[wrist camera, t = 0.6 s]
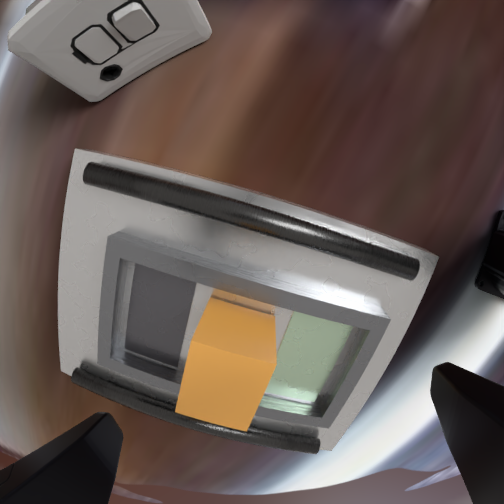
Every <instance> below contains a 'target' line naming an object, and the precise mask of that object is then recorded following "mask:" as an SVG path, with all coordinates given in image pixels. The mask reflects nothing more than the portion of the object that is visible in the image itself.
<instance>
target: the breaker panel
mask: <svg viewBox="0 0 504 504" xmlns="http://www.w3.org/2000/svg"><path fill="white" fill-rule="evenodd" d="M438 259H439V257H438V256H437V255H435V254H433V253H431V252H430V251H428V250H426V249H424V248H421V247H419V246H416V245H414V244H411V243H408V242H406V241H403V240H400V239H398V238H395V237H392V236H390V235H387V234H384V233H382V232H379V231H376V230H373V229H371V228H368V227H365V226H362V225H359V224H356V223H354V222H351V221H348V220H345V219H342V218H339V217H336V216H333V215H330V214H327V213H324V212H321V211H318V210H315V209H312V208H309V207H306V206H303V205H300V204H296V203H293V202H290V201H287V200H284V199H280V198H277V197H274V196H271V195H267V194H264V193H261V192H257V191H254V190H250V189H247V188H244V187H240V186H237V185H233V184H230V183H226V182H222V181H219V180H215V179H212V178H208V177H204V176H200V175H197V174H193V173H189V172H185V171H181V170H177V169H173V168H169V167H165V166H161V165H157V164H153V163H149V162H145V161H141V160H136V159H132V158H128V157H123V156H119V155H114V154H110V153H105V152H100V151H96V150H90V149H75V152H74V156H73V161H72V166H71V171H70V176H69V182H68V188H67V194H66V201H65V208H64V215H63V224H62V233H61V244H60V257H59V275H58V334H59V352H60V365H61V371H62V372H64V373H66V374H68V375H70V376H72V377H71V381H72V382H73V383H75V384H77V385H79V386H81V387H83V388H85V389H87V390H89V391H91V392H94V393H96V394H98V395H100V396H102V397H105V398H107V399H109V400H112V401H114V402H116V403H119V404H121V405H124V406H126V407H129V408H131V409H134V410H136V411H139V412H142V413H144V414H147V415H150V416H153V417H155V418H158V419H161V420H164V421H167V422H170V423H173V424H176V425H180V426H183V427H186V428H189V429H193V430H196V431H200V432H203V433H207V434H211V435H215V436H219V437H223V438H227V439H231V440H235V441H240V442H244V443H249V444H254V445H259V446H264V447H270V448H275V449H281V450H288V451H295V452H302V453H310V454H317V453H318V451H319V450H329V451H332V449H333V448H334V447H335V445H336V444H337V443H338V441H339V440H340V439H341V437H342V436H343V435H344V433H345V432H346V430H347V429H348V428H349V426H350V425H351V423H352V422H353V420H354V419H355V417H356V416H357V414H358V413H359V411H360V410H361V408H362V407H363V405H364V404H365V402H366V401H367V399H368V398H369V396H370V394H371V393H372V391H373V390H374V388H375V386H376V385H377V383H378V381H379V380H380V378H381V376H382V375H383V373H384V371H385V370H386V368H387V366H388V364H389V363H390V361H391V359H392V357H393V355H394V354H395V352H396V350H397V348H398V346H399V344H400V342H401V341H402V339H403V337H404V335H405V333H406V331H407V329H408V327H409V325H410V323H411V321H412V319H413V317H414V314H415V312H416V310H417V308H418V306H419V304H420V302H421V299H422V297H423V295H424V293H425V290H426V288H427V286H428V283H429V281H430V279H431V276H432V274H433V271H434V269H435V266H436V264H437V261H438ZM210 297H211V298H214V299H218V300H221V301H224V302H228V303H231V304H235V305H238V306H241V307H245V308H248V309H252V310H255V311H259V312H262V313H266V314H270V315H273V316H275V327H276V356H277V365H276V367H275V370H274V372H273V374H272V377H271V379H270V381H269V384H268V386H267V388H266V390H265V393H264V395H263V397H262V399H261V402H260V404H259V406H258V408H257V410H256V413H255V415H254V417H253V419H252V421H251V423H250V426H249V428H248V430H247V432H246V431H242V430H238V429H233V428H229V427H225V426H221V425H217V424H214V423H210V422H206V421H203V420H199V419H196V418H192V417H189V416H186V415H182V414H179V413H176V412H175V410H176V405H177V400H178V396H179V391H180V387H181V382H182V378H183V373H184V369H185V364H186V360H187V356H188V352H189V347H190V343H191V340H192V337H193V335H194V333H195V330H196V328H197V326H198V324H199V321H200V319H201V317H202V315H203V312H204V310H205V308H206V306H207V303H208V301H209V299H210Z"/></svg>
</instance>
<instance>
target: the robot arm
mask: <svg viewBox="0 0 504 504" xmlns="http://www.w3.org/2000/svg"><path fill="white" fill-rule="evenodd" d="M503 215H504V210H501V211H500V212H499V214H498V217H497V221H496V224H495V227H494V231H493V234H492V237H491V240H490V243H489V246H488V249H487V252H486V254H485V257H484V260H483V263H482V265H481V268H480V270H479V273H478V275H477V278H476V280H475V286H476V287H477V288H478V289H480V290H482V291H485V292H487V293H490V294H493V295H495V296H498V297H500V298H503V299H504V218H503ZM480 282H481V284H480ZM430 393H431V398H432V401H433V403H434V406H435V409H436V412H437V415H438V418H439V421H440V424H441V427H442V430H443V433H444V436H445V439H446V442H447V444H448V446H449V449H450V451H451V453H452V455H453V457H454V460H455V462H456V464H457V466H458V469H459V471H460V473H461V476H462V478H463V480H464V483H465V485H466V487H467V490H468V492H469V495H470V497H471V500H472V502H473V504H504V386H502V385H500V384H498V383H495V382H493V381H491V380H488V379H486V378H484V377H481V376H479V375H477V374H475V373H472V372H470V371H468V370H465V369H463V368H461V367H459V366H456V365H454V364H452V363H449V362H445V363H442V364H440V365H437V366H435V367H434V368H433V372H432V381H431V389H430ZM122 441H123V433H122V430H121V429H120V427H119V426H118V424H117V423H116V421H115V420H114V418H113V416H112V415H111V414H110V413H107V412H97V413H95V414H94V415H92V416H90V417H89V418H87V419H86V420H84V421H83V422H81V423H79V424H78V425H76V426H75V427H73V428H71V429H70V430H68V431H67V432H65V433H63V434H62V435H60V436H58V437H57V438H55V439H54V440H52V441H50V442H49V443H47V444H45V445H44V446H42V447H40V448H39V449H37V450H35V451H34V452H32V453H30V454H28V455H27V456H25V457H23V458H22V459H20V460H18V461H17V462H15V463H13V464H11V465H9V466H8V467H6V468H4V469H2V470H0V504H108V502H109V498H110V495H111V492H112V488H113V485H114V481H115V477H116V473H117V467H118V462H119V457H120V451H121V446H122Z"/></svg>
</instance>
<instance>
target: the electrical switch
mask: <svg viewBox="0 0 504 504" xmlns="http://www.w3.org/2000/svg"><path fill="white" fill-rule="evenodd" d="M211 33H212V30H211V28H210V25H209V23H208V21H207V19H206V16H205V14H204V12H203V10H202V8H201V6H200V4H199V2H198V0H36V1H34V2H33V3H32V4H31V5H30V6H29V7H28V8H27V9H26V15H25V16H24V17H23V18H22V19H21V20H20V21H19V22H18V23H17V24H16V25H15V26H14V27H13V28H12V29H11V30H10V31H9V32H8V50H9V51H10V52H12V53H14V54H15V55H17V56H19V57H20V58H22V59H23V60H25V61H27V62H28V63H30V64H31V65H33V66H35V67H36V68H38V69H39V70H41V71H43V72H44V73H46V74H47V75H49V76H51V77H52V78H54V79H55V80H57V81H58V82H60V83H62V84H63V85H65V86H66V87H68V88H69V89H71V90H72V91H74V92H75V93H77V94H79V95H80V96H82V97H83V98H85V99H86V100H88V101H89V102H97V101H100V100H102V99H104V98H105V97H107V96H108V95H110V94H111V93H113V92H114V91H116V90H117V89H119V88H120V87H122V86H123V85H125V84H127V83H128V82H130V81H131V80H133V79H135V78H136V77H138V76H140V75H141V74H143V73H145V72H146V71H148V70H150V69H151V68H153V67H155V66H157V65H159V64H160V63H162V62H164V61H166V60H168V59H170V58H171V57H173V56H175V55H177V54H179V53H181V52H183V51H185V50H187V49H189V48H191V47H193V46H195V45H197V44H200V43H202V42H204V41H206V40H207V39H209V37H210V35H211Z"/></svg>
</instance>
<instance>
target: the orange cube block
mask: <svg viewBox="0 0 504 504" xmlns="http://www.w3.org/2000/svg"><path fill="white" fill-rule="evenodd" d="M276 365H277V356H276V327H275V316H273V315H270V314H266V313H262V312H259V311H255V310H252V309H248V308H245V307H241V306H238V305H235V304H231V303H228V302H224V301H221V300H218V299H214V298H211V297H210V299H209V301H208V303H207V306H206V308H205V310H204V312H203V315H202V317H201V319H200V321H199V324H198V326H197V328H196V330H195V333H194V335H193V337H192V340H191V343H190V347H189V352H188V356H187V360H186V364H185V369H184V373H183V378H182V382H181V387H180V391H179V396H178V400H177V405H176V410H175V412H176V413H179V414H182V415H186V416H189V417H192V418H196V419H199V420H203V421H206V422H210V423H214V424H217V425H221V426H225V427H229V428H233V429H238V430H242V431H246V432H247V430H248V428H249V426H250V423H251V421H252V419H253V417H254V415H255V413H256V410H257V408H258V406H259V404H260V402H261V399H262V397H263V395H264V393H265V390H266V388H267V386H268V384H269V381H270V379H271V377H272V374H273V372H274V370H275V367H276Z"/></svg>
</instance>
